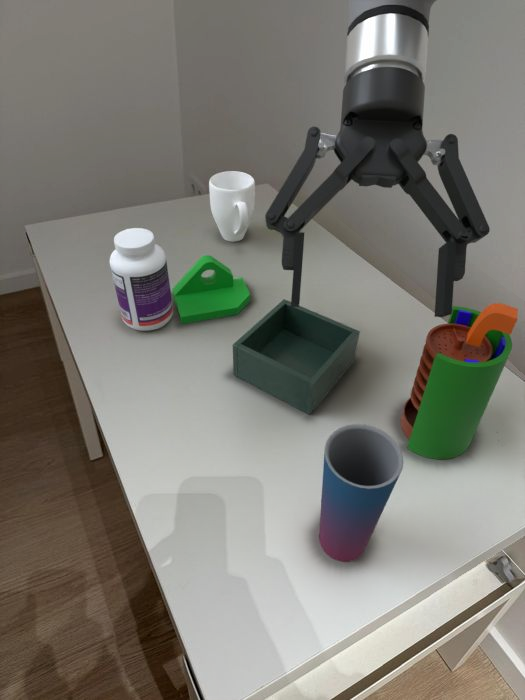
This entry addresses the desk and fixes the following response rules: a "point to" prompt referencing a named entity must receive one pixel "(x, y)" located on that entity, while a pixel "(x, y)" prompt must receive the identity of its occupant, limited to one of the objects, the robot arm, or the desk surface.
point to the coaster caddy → (457, 379)
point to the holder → (295, 355)
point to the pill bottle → (141, 280)
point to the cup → (355, 487)
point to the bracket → (209, 292)
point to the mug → (232, 203)
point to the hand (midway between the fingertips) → (368, 310)
